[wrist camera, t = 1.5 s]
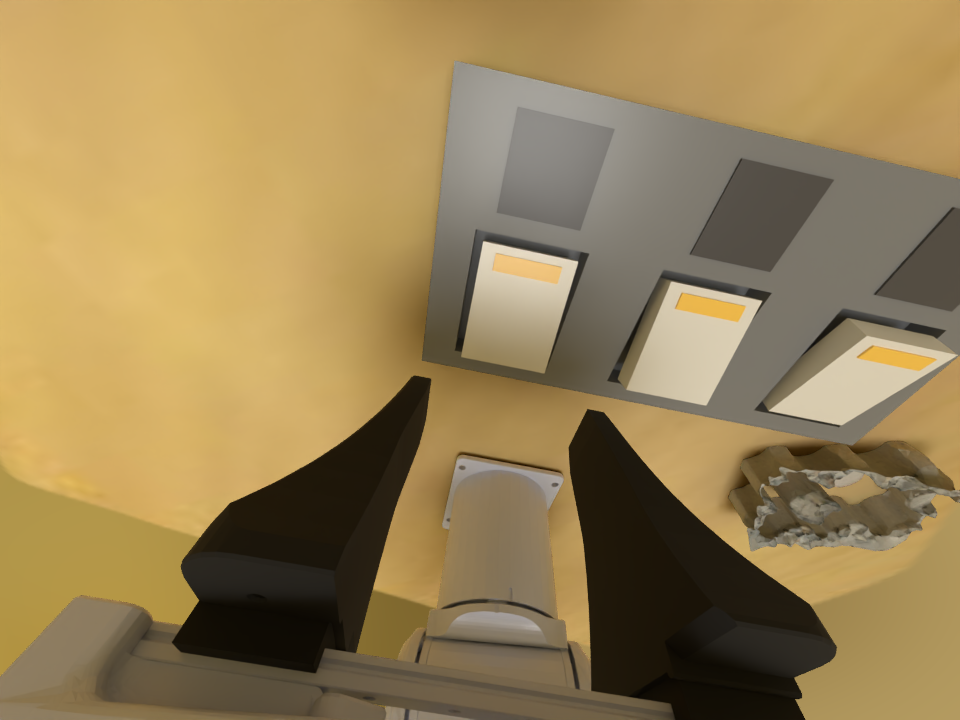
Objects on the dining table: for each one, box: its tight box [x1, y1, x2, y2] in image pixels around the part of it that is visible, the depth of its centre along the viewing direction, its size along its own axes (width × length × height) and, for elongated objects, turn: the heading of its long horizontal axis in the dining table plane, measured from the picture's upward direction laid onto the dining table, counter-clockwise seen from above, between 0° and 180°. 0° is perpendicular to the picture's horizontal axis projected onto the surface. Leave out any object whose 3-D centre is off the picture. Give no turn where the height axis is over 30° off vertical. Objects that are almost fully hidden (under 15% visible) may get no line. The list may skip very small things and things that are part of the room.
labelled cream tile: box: [461, 240, 578, 373], centre depth 15 cm, size 5×4×1 cm
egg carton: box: [728, 441, 960, 551], centre depth 22 cm, size 11×8×4 cm
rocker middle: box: [618, 277, 762, 406], centre depth 16 cm, size 5×4×1 cm
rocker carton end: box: [762, 318, 958, 425], centre depth 16 cm, size 5×4×1 cm
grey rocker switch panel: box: [422, 61, 960, 445], centre depth 16 cm, size 12×24×2 cm, turn 79°
